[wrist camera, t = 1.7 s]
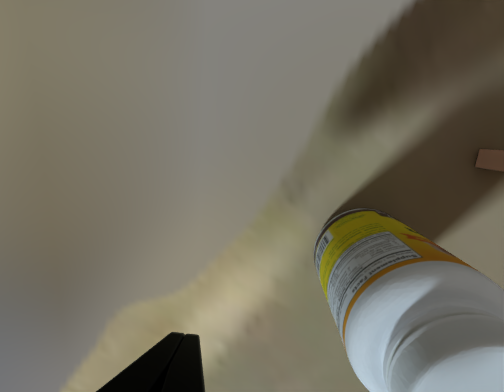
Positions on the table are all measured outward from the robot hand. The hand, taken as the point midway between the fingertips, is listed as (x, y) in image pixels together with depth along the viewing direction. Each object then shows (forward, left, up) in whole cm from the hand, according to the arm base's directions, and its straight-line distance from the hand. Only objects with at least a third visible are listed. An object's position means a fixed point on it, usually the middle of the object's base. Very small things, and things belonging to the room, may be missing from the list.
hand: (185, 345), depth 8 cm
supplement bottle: (0, -8, -9) cm, 12 cm away
